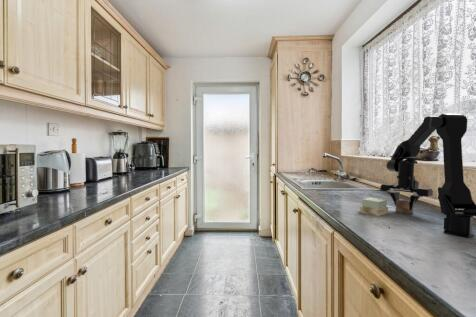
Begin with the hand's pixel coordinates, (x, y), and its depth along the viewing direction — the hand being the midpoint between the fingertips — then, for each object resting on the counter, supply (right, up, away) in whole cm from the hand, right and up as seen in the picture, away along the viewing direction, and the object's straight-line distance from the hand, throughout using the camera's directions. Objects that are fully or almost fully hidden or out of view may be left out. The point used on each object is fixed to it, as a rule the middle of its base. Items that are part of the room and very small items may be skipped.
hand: (404, 209), depth 117 cm
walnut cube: (0, -1, 0) cm, 1 cm away
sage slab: (-14, +2, -2) cm, 14 cm away
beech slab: (-14, -1, -2) cm, 14 cm away
